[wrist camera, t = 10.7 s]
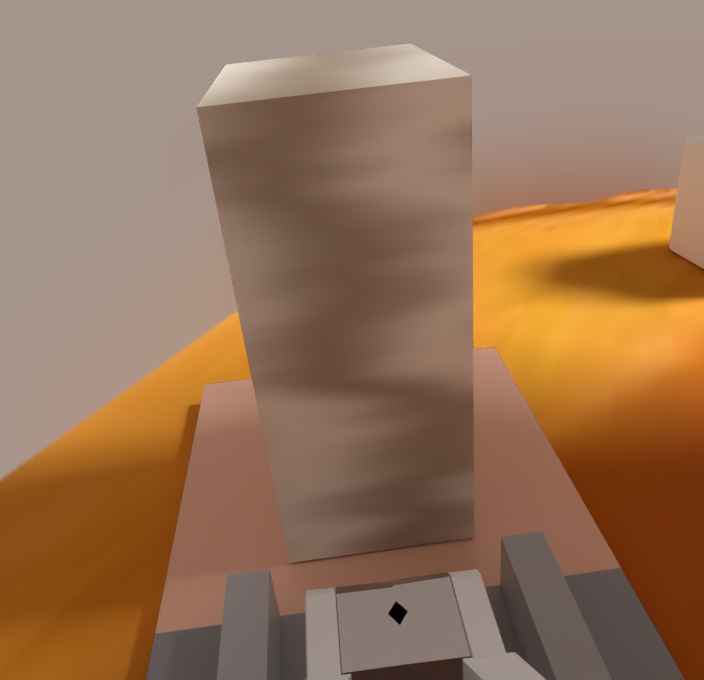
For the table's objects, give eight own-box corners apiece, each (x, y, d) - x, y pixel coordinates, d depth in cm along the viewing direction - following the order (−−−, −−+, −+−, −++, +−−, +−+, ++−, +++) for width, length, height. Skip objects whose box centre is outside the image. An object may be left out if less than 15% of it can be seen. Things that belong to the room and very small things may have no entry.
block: (427, 398, 28) (410, 43, 21) (474, 537, 21) (471, 75, 14) (288, 416, 28) (225, 64, 21) (289, 562, 21) (196, 107, 14)
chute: (494, 364, 32) (495, 310, 30) (1087, 1454, 8) (1216, 1444, 7) (208, 402, 31) (195, 348, 30) (-19, 1661, 8) (-133, 1699, 6)
